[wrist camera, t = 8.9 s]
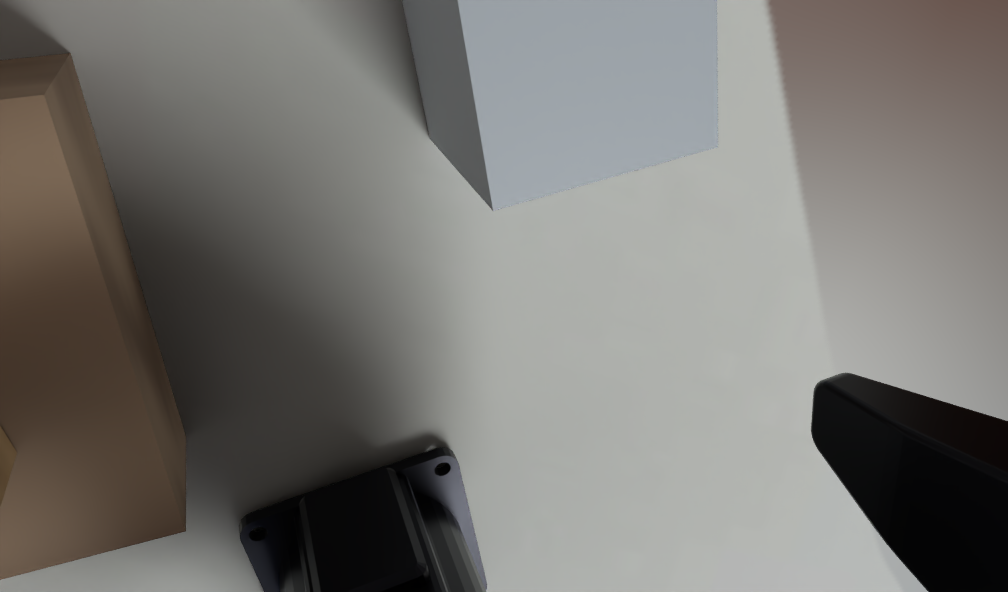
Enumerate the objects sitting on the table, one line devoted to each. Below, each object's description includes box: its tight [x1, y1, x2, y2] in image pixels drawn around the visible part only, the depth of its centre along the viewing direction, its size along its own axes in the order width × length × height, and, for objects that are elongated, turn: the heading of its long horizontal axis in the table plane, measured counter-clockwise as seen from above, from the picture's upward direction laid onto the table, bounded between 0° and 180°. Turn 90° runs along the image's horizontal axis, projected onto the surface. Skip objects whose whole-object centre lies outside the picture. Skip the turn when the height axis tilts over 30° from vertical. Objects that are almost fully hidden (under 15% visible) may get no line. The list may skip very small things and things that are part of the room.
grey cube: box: [402, 0, 718, 211], centre depth 17 cm, size 5×5×5 cm
